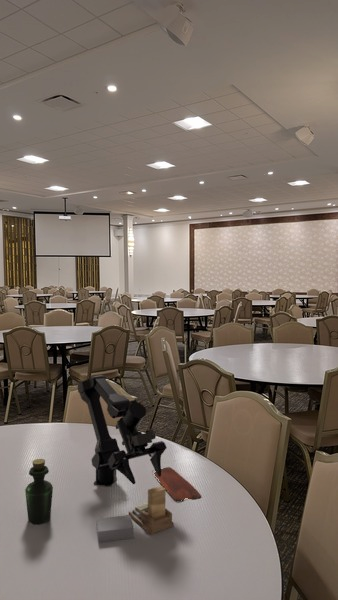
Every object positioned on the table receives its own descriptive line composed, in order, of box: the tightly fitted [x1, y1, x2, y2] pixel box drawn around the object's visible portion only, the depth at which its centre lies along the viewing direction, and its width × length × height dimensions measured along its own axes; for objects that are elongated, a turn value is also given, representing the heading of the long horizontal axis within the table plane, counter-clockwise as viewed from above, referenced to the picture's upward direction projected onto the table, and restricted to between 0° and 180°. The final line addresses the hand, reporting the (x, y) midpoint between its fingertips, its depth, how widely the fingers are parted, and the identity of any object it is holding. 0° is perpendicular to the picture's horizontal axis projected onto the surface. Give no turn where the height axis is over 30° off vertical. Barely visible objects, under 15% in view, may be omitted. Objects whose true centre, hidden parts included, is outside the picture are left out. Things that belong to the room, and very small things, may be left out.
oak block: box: [147, 485, 166, 519], centre depth 134 cm, size 2×5×8 cm, turn 124°
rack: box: [128, 501, 175, 535], centre depth 137 cm, size 13×8×4 cm, turn 34°
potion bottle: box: [24, 458, 54, 525], centre depth 137 cm, size 8×8×18 cm
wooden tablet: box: [154, 466, 202, 502], centre depth 162 cm, size 27×10×2 cm, turn 22°
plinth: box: [95, 514, 135, 543], centre depth 130 cm, size 7×10×3 cm
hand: (147, 479), depth 138 cm, fingers open, 9 cm apart
